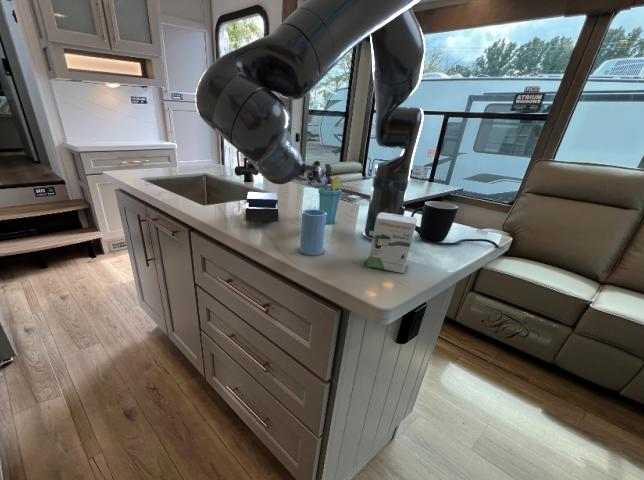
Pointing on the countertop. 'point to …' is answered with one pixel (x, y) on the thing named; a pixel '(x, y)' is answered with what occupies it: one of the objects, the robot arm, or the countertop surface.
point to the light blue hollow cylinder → (312, 232)
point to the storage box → (262, 206)
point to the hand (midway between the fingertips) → (291, 177)
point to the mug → (436, 220)
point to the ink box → (391, 242)
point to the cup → (330, 198)
